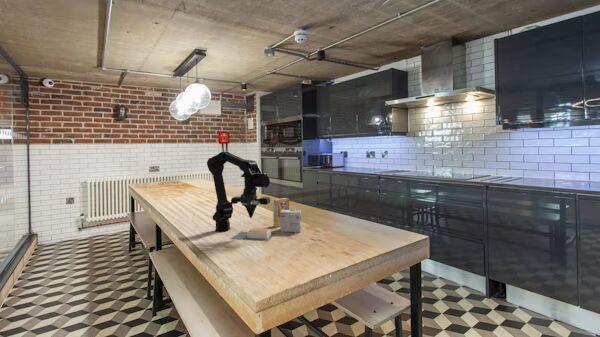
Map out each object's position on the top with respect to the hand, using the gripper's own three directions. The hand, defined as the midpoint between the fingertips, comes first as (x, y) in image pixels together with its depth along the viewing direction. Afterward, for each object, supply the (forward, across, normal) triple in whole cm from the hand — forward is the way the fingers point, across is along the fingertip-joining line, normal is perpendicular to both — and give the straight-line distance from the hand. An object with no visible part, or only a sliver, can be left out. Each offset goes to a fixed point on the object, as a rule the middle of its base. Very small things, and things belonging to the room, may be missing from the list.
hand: (251, 217), depth 161 cm
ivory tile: (+8, -1, 0) cm, 8 cm away
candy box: (+10, +9, +24) cm, 28 cm away
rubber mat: (+10, +1, 0) cm, 10 cm away
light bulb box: (+10, +17, +15) cm, 25 cm away
